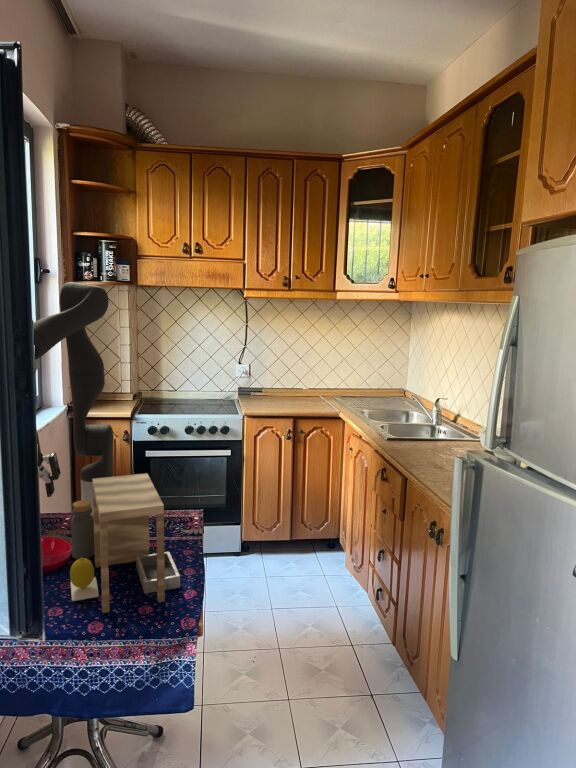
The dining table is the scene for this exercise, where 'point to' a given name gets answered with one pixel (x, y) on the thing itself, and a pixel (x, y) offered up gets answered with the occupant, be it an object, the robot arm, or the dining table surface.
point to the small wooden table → (126, 525)
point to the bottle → (82, 530)
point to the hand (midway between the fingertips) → (30, 497)
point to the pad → (85, 591)
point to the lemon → (82, 573)
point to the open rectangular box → (149, 572)
